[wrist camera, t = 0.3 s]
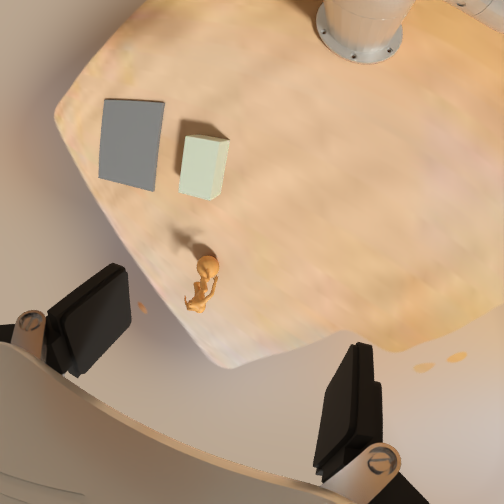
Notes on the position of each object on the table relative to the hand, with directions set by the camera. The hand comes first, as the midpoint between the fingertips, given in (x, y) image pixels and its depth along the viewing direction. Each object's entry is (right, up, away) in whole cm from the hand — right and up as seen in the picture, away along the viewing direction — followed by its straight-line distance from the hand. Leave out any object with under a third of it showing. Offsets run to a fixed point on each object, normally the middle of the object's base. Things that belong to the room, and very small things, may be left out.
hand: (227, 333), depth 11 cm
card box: (-6, +17, +35) cm, 39 cm away
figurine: (-6, +1, +42) cm, 43 cm away
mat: (-22, +23, +37) cm, 48 cm away
